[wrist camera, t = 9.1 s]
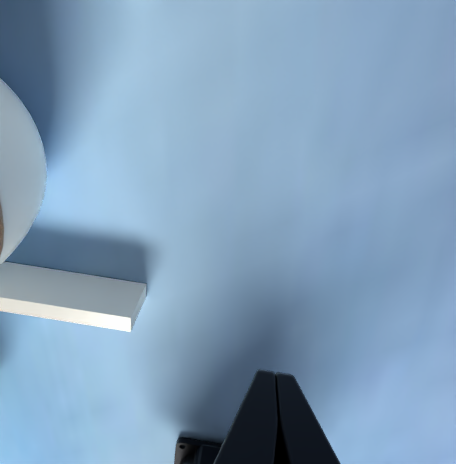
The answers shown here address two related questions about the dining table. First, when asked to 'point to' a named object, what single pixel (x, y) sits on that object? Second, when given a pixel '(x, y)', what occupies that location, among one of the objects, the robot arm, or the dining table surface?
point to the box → (70, 296)
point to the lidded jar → (18, 171)
